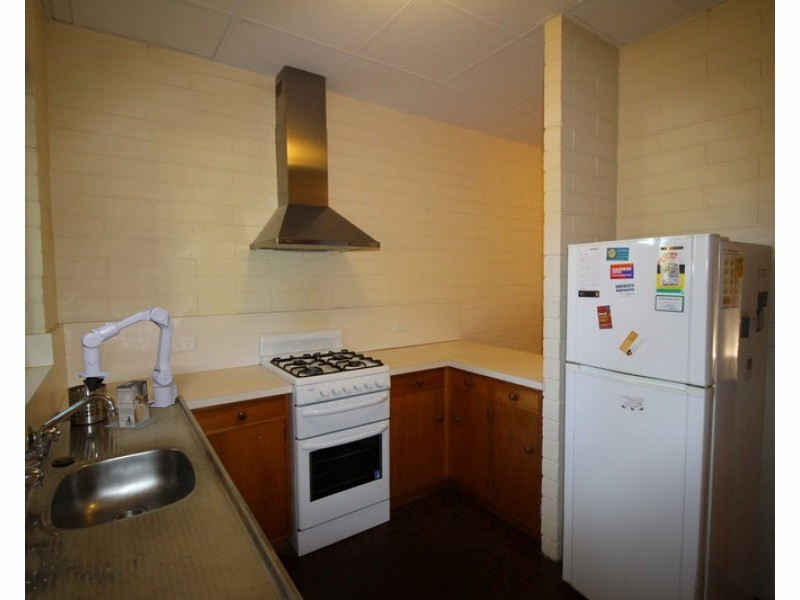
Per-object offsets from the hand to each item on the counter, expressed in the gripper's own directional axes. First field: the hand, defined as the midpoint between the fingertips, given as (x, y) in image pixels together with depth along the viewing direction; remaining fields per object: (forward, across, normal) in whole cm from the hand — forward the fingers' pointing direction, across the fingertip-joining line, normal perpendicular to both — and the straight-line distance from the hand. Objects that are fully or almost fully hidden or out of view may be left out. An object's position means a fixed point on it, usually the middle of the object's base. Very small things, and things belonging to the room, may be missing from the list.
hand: (95, 395), depth 166 cm
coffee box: (+10, +18, -1) cm, 21 cm away
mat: (+10, +17, -1) cm, 20 cm away
